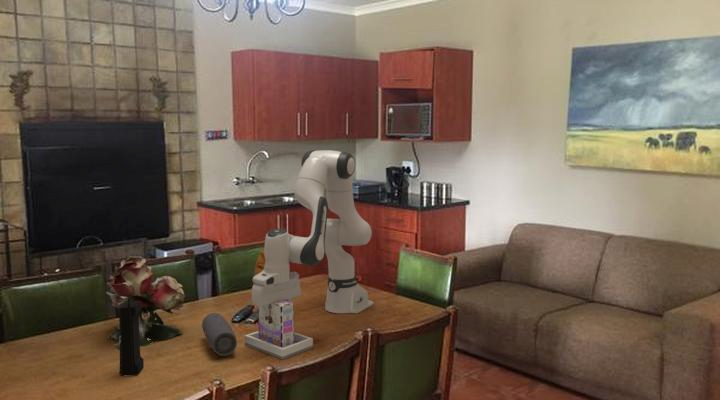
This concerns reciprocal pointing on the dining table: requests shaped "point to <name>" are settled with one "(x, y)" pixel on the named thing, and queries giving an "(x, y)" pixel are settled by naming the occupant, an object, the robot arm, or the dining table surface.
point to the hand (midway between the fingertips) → (277, 313)
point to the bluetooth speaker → (219, 334)
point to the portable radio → (130, 339)
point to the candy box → (277, 324)
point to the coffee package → (260, 263)
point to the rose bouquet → (145, 299)
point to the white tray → (299, 346)
